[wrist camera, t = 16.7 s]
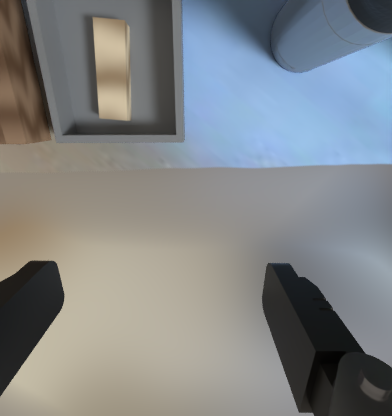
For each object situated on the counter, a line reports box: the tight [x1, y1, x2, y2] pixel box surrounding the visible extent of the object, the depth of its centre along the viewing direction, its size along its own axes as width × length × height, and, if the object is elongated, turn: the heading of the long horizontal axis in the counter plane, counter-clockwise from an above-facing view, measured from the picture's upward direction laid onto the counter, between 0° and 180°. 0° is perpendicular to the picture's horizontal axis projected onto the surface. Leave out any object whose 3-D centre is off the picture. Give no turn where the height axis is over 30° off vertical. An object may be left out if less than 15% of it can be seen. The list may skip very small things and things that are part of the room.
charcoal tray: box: [26, 0, 185, 143], centre depth 32 cm, size 20×18×5 cm
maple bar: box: [93, 17, 131, 121], centre depth 33 cm, size 12×4×2 cm, turn 176°
